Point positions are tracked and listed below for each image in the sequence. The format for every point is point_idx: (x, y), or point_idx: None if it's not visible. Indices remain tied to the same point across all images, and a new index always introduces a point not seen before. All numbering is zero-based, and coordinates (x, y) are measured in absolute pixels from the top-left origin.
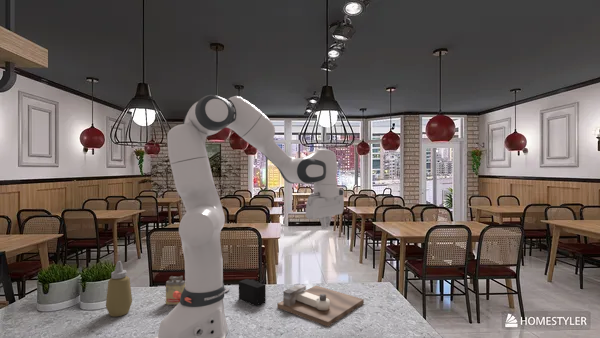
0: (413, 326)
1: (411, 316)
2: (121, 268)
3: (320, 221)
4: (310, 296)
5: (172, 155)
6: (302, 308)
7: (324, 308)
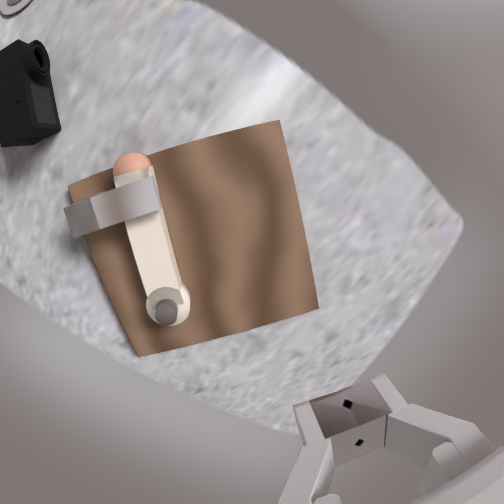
0: None
1: None
2: None
3: (289, 483)
4: (149, 259)
5: None
6: (116, 261)
7: None
